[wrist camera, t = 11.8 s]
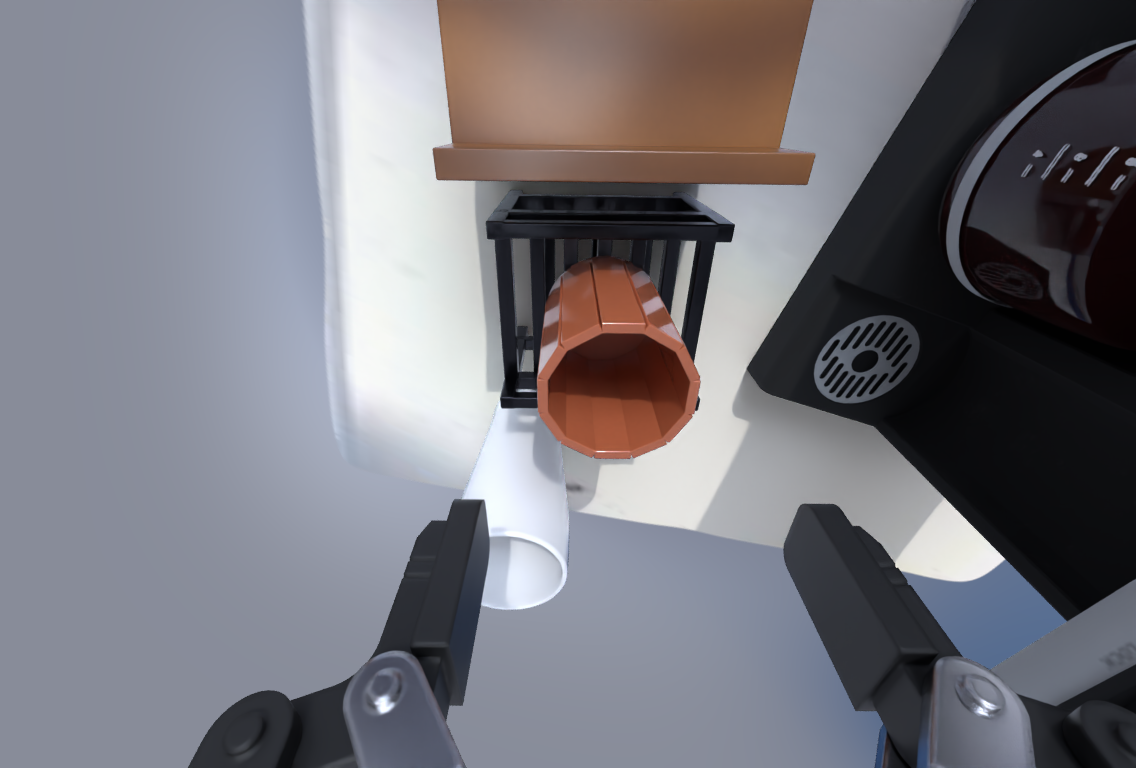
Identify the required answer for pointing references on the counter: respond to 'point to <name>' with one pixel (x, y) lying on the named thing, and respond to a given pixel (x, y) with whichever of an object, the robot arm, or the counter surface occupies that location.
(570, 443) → the cup
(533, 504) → the drinking glass
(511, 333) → the rack
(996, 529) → the coffee maker
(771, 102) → the wooden open box
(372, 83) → the counter surface
